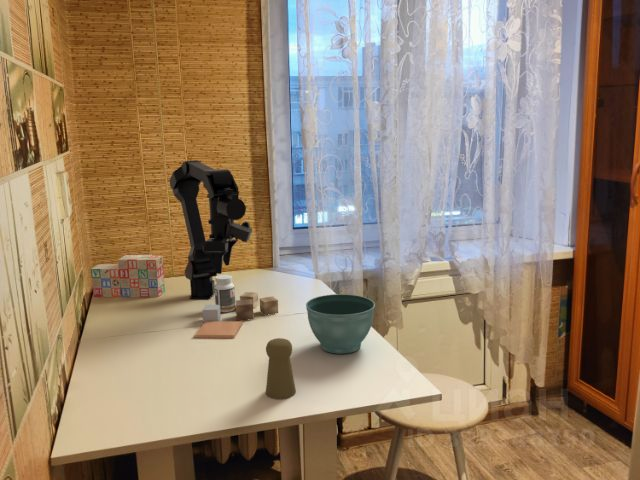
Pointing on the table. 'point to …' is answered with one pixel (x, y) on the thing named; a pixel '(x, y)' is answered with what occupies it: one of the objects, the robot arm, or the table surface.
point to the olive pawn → (279, 369)
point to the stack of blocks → (130, 277)
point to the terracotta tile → (219, 329)
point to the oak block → (268, 305)
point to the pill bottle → (225, 293)
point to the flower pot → (340, 321)
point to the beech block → (250, 296)
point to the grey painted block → (211, 313)
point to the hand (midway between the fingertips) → (223, 269)
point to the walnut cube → (244, 309)
